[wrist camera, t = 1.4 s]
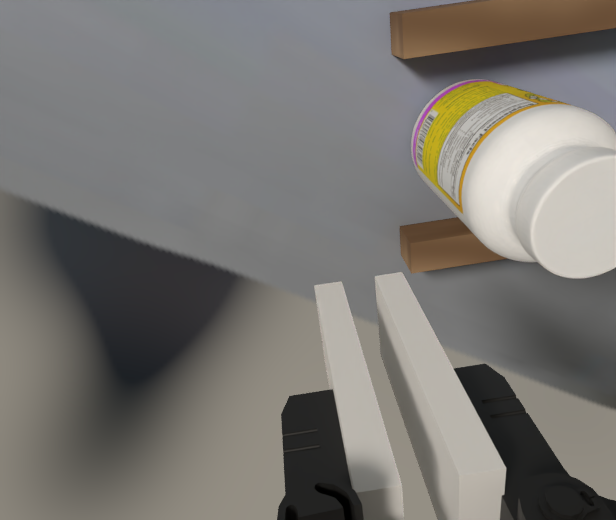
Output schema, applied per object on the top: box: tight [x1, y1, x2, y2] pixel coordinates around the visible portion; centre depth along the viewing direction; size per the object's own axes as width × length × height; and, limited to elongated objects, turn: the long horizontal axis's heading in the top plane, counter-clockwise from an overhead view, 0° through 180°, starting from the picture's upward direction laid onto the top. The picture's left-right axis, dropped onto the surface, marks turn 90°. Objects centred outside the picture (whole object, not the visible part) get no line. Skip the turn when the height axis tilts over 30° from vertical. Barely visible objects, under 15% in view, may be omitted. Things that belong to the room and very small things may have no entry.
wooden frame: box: [390, 0, 616, 273], centre depth 28 cm, size 14×22×4 cm, turn 97°
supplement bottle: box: [411, 79, 616, 278], centre depth 23 cm, size 7×7×13 cm
